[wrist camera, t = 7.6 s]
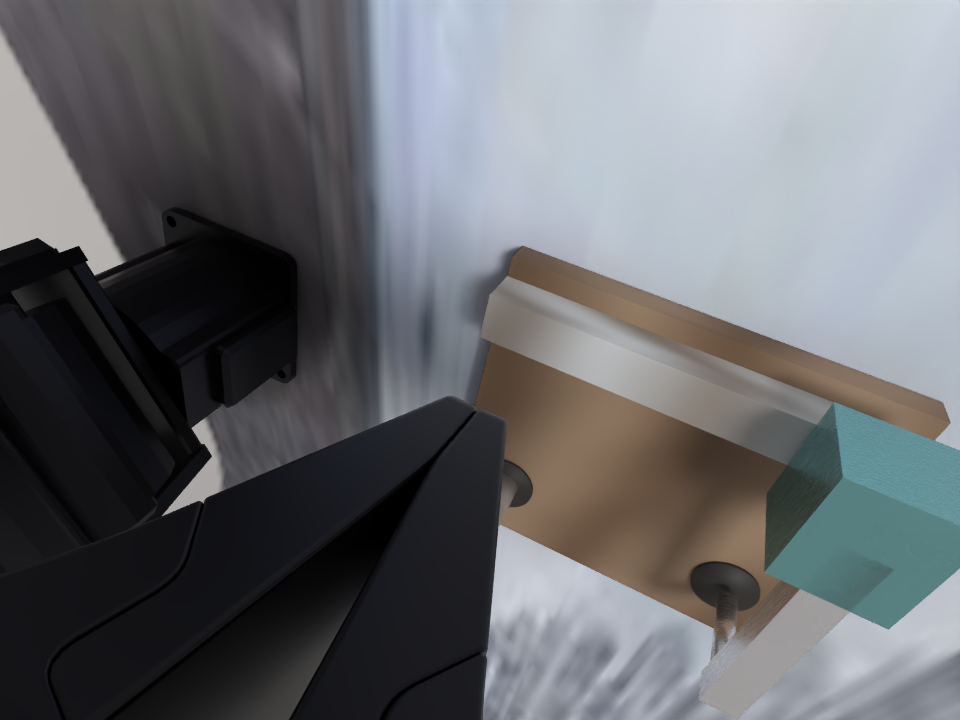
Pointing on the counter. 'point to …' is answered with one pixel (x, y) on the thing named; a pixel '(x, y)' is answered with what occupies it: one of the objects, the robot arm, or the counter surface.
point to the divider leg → (839, 548)
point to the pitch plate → (655, 430)
